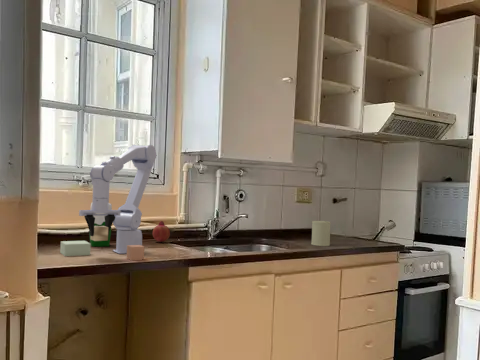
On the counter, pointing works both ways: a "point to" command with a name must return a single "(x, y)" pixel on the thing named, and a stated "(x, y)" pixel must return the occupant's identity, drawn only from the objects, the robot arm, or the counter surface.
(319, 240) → the can
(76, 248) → the sage block
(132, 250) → the terracotta cube
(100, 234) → the maple cube
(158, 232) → the fruit
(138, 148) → the robot arm
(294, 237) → the counter surface
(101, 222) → the milk carton
